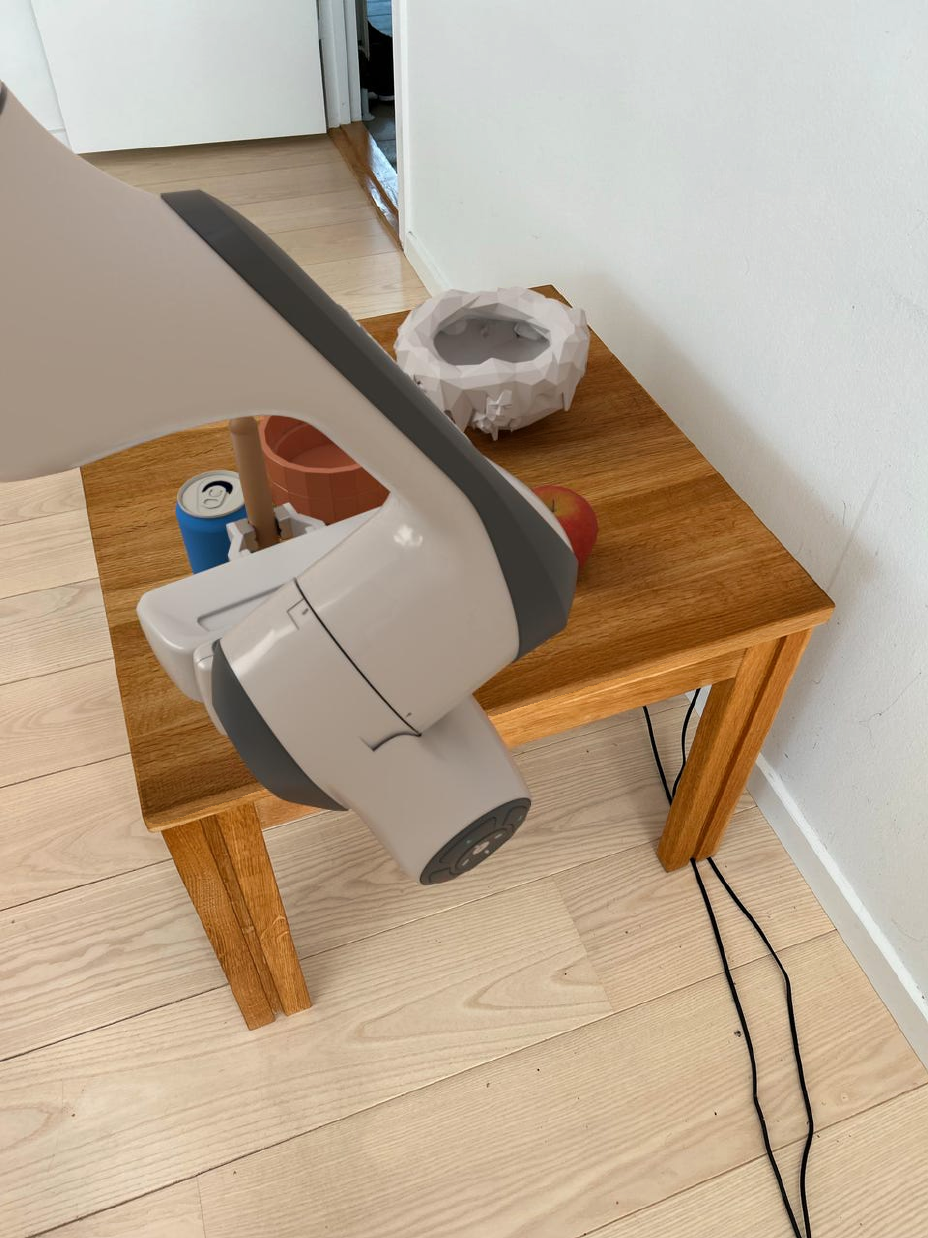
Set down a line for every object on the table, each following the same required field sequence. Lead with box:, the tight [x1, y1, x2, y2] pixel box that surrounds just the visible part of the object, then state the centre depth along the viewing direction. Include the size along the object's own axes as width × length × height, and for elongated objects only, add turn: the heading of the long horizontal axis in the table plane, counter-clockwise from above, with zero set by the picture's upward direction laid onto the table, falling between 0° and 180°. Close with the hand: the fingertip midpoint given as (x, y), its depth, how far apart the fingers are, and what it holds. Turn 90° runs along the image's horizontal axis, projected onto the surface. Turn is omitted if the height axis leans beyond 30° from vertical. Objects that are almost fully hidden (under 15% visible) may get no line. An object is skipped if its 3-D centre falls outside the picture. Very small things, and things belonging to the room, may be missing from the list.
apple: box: [531, 485, 599, 569], centre depth 80 cm, size 8×8×8 cm
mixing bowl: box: [258, 415, 390, 526], centre depth 89 cm, size 14×14×6 cm
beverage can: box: [174, 469, 255, 575], centre depth 76 cm, size 6×6×12 cm
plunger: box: [227, 416, 281, 552], centre depth 65 cm, size 6×6×20 cm
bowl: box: [393, 286, 592, 442], centre depth 97 cm, size 21×20×10 cm
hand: (258, 520), depth 64 cm, fingers closed on plunger
